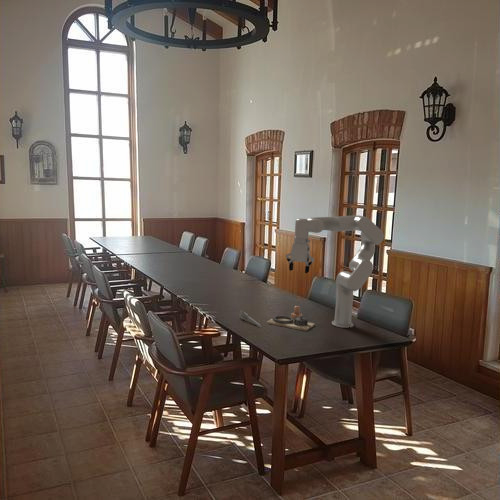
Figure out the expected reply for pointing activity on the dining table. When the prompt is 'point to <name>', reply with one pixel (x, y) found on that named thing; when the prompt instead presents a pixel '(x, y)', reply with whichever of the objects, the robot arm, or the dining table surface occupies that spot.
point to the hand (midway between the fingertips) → (298, 271)
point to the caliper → (246, 316)
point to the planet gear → (296, 312)
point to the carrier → (291, 322)
